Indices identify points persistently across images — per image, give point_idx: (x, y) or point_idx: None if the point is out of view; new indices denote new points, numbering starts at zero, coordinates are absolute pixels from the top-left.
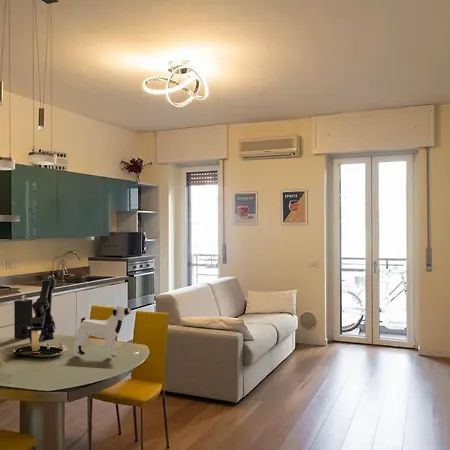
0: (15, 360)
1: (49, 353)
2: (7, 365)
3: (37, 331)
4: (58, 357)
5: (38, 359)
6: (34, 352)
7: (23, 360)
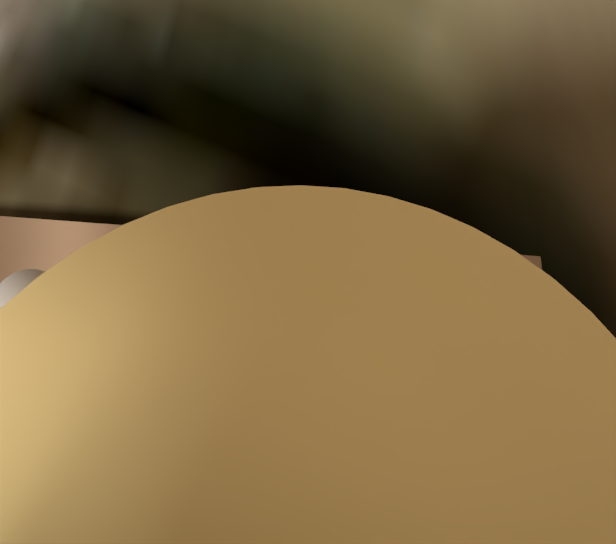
0: (565, 146)
1: None
2: (613, 5)
3: (105, 520)
4: (34, 50)
5: (281, 71)
6: None
7: (462, 105)
